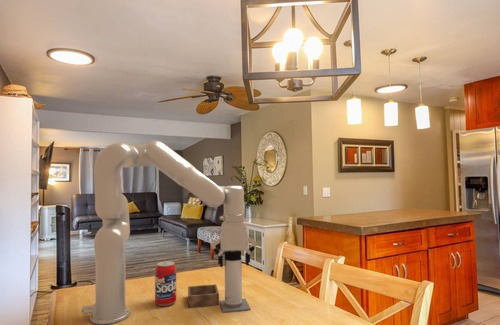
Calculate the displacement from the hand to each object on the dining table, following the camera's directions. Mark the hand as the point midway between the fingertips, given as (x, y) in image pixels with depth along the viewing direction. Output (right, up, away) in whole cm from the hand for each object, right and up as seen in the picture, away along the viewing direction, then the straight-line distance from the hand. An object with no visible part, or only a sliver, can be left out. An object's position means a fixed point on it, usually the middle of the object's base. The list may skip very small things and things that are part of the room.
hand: (234, 265), depth 121 cm
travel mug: (0, -15, -1) cm, 15 cm away
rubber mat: (0, -15, -1) cm, 15 cm away
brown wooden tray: (-12, -15, +5) cm, 20 cm away
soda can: (-26, -15, +3) cm, 30 cm away
